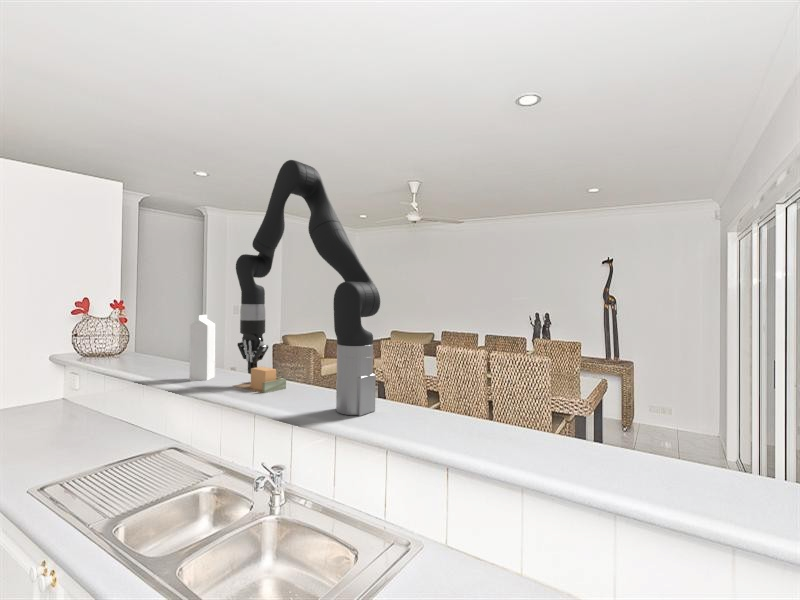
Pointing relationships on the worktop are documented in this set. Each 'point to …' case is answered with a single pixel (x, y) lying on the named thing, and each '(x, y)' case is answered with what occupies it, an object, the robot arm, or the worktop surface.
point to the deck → (266, 385)
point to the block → (261, 376)
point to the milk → (202, 349)
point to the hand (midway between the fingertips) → (252, 373)
